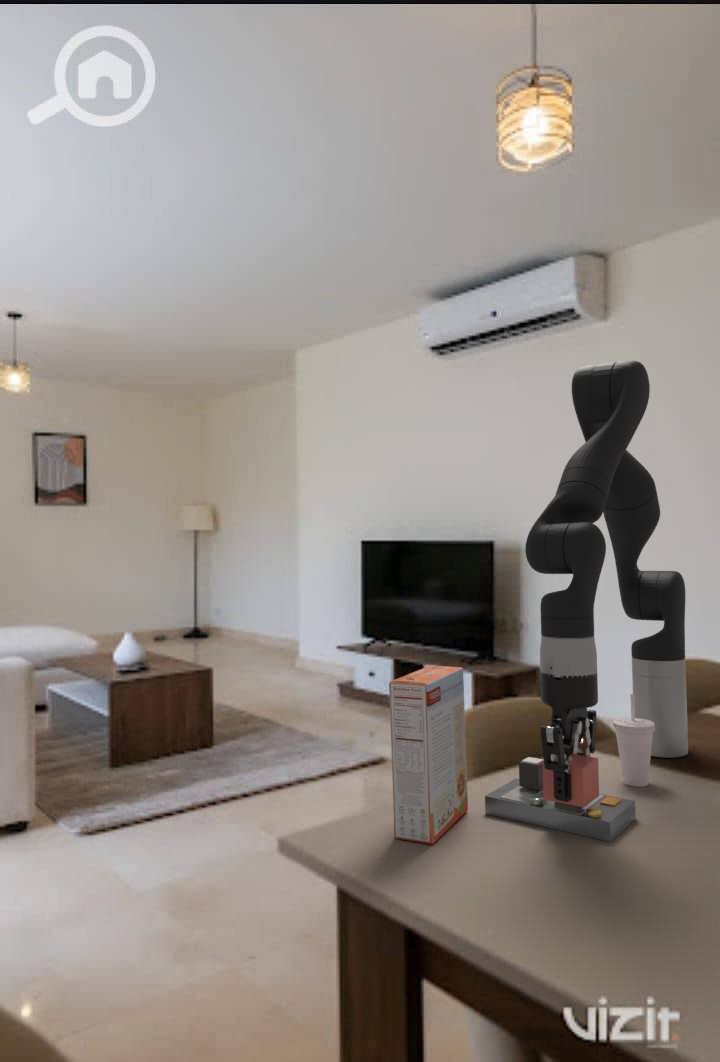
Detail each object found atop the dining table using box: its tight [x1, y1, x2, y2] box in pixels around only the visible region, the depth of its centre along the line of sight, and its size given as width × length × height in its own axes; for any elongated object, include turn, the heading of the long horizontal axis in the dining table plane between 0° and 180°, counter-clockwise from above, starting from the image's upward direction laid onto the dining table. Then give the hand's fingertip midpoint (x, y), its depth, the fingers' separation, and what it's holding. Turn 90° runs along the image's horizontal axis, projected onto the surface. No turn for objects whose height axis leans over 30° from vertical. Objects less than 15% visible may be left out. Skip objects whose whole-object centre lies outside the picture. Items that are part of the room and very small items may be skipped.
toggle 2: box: [555, 802, 583, 813], centre depth 100 cm, size 3×3×4 cm
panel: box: [484, 778, 637, 843], centre depth 105 cm, size 10×18×3 cm, turn 52°
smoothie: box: [612, 693, 655, 788], centre depth 119 cm, size 6×6×14 cm
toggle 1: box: [518, 756, 544, 790], centre depth 110 cm, size 3×3×4 cm
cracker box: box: [388, 665, 469, 845], centre depth 103 cm, size 14×6×21 cm, turn 152°
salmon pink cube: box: [543, 755, 600, 807], centre depth 101 cm, size 6×6×5 cm
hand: (571, 793), depth 101 cm, fingers closed on salmon pink cube, 5 cm apart
